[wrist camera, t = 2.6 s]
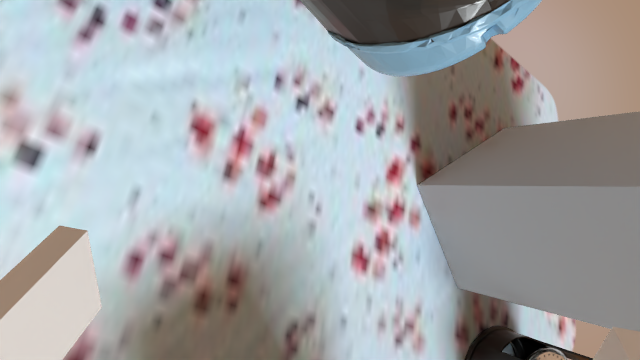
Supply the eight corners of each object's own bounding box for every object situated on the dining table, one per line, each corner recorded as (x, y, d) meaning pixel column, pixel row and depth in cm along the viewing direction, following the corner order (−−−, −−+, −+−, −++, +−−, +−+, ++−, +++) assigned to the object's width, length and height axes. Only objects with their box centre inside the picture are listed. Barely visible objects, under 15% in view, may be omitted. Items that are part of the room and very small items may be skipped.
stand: (417, 185, 47) (879, 188, 20) (504, 128, 53) (948, 73, 26) (457, 287, 49) (915, 410, 23) (536, 222, 55) (970, 258, 29)
